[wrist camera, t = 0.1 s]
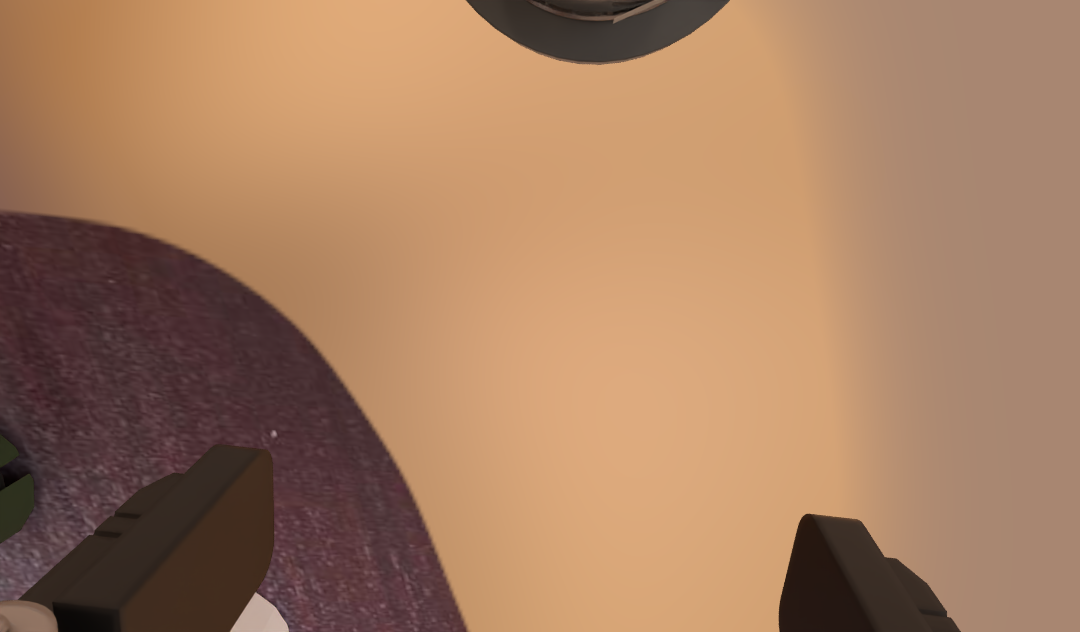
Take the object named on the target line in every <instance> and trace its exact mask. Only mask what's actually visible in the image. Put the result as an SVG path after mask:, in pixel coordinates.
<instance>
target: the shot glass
mask: <svg viewBox="0 0 1080 632" xmlns="http://www.w3.org/2000/svg"><path fill="white" fill-rule="evenodd" d="M230 632H289V629H288V625H287V624H286V622H285V621H284V619H283V618H282V616H281V615H280V613H279V612H278V610H277V609H276V607H275V606H274V605H272V604H271V603H270V602H268V601H267V600H266V599H264V598H263V597H262V596H260V595H259V594H258V593H256V592H255V594H254V595H253V597H252V598H251V600H250V601H249V603H248V604H247V606H246V608H245V609H244V611H243V612H242V614H241V615H240V617H239V618H238V620H237V621H236V623H235V624H234V626H233V628H232V629H231V631H230Z"/></svg>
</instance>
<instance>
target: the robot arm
mask: <svg viewBox="0 0 1080 632" xmlns="http://www.w3.org/2000/svg"><path fill="white" fill-rule="evenodd" d="M524 1H526V2H527V3H529V4H531V5H532V6H534V7H536V8H538V9H540V10H542V11H544V12H547V13H549V14H552V15H555V16H558V17H561V18H565V19H569V20H575V21H581V22H612V21H613V24H614V23H616V22H618V21H620V20H624V19H628V18H631V17H635V16H638V15H641V14H644V13H646V12H649V11H651V10H653V9H655V8H657V7H659V6H661V5H663V4H665V3H666V2H668V1H670V0H524ZM273 546H274V501H273V462H272V457H271V454H270V452H269V451H268V450H264V449H256V448H247V447H239V446H230V445H221V444H217V445H215V446H213V447H212V448H210V449H209V450H208V451H207V452H206V453H205V454H204V455H203V456H202V457H201V458H200V459H199V460H198V461H197V462H196V463H195V464H194V465H193V466H192V467H191V468H190V469H189V470H188V471H187V472H186V473H185V474H180V473H172V474H170V475H168V476H166V477H164V478H162V479H160V480H158V481H156V482H154V483H152V484H150V485H148V486H146V487H144V488H142V489H140V490H139V491H138V492H136V493H135V494H134V495H133V496H132V497H131V498H130V499H129V500H128V501H126V502H125V503H124V504H123V505H122V506H121V507H120V508H119V509H118V510H117V511H115V515H114V517H113V516H110V517H109V518H108V519H107V520H105V521H104V522H103V523H102V524H101V525H100V526H99V527H98V528H97V529H96V530H95V533H94V535H89V536H88V537H87V538H86V539H84V540H83V541H82V542H81V543H80V544H79V545H78V546H77V547H76V548H75V549H73V550H72V551H71V552H70V553H69V554H68V555H67V556H66V557H65V558H63V559H62V560H61V561H60V562H59V563H58V564H57V565H56V566H55V567H54V568H52V569H51V570H50V571H49V572H48V573H47V574H46V575H45V576H44V577H42V578H41V579H40V580H39V581H38V582H37V583H36V584H35V585H34V586H33V587H31V588H30V589H29V590H28V591H27V592H26V593H25V594H24V595H23V596H22V597H20V598H19V599H18V600H9V601H0V632H230V631H231V629H232V628H233V626H234V624H235V623H236V621H237V620H238V618H239V617H240V615H241V614H242V612H243V611H244V609H245V608H246V606H247V604H248V603H249V601H250V600H251V598H252V597H253V595H254V594H255V592H256V591H257V589H258V588H259V586H260V584H261V583H262V581H263V579H264V577H265V575H266V573H267V570H268V568H269V565H270V561H271V557H272V552H273ZM779 630H780V632H961V631H960V630H959V629H958V627H957V626H956V624H955V623H954V621H953V620H952V619H951V618H949V617H947V611H946V610H945V609H944V607H943V606H942V604H941V603H940V601H939V600H938V598H937V597H936V596H935V594H934V593H933V591H932V590H931V588H930V587H929V586H928V584H927V583H926V582H924V581H923V580H922V579H921V578H919V577H918V576H917V575H916V574H915V573H913V572H912V571H911V570H910V569H908V568H907V567H906V566H905V565H904V564H902V563H901V562H900V561H899V560H897V559H895V558H886V557H884V555H883V554H882V552H881V551H880V549H879V548H878V546H877V544H876V543H875V541H874V540H873V538H872V537H871V535H870V534H869V532H868V531H867V529H866V527H865V526H864V525H863V523H862V522H861V521H859V520H857V519H849V518H841V517H832V516H823V515H815V514H806V515H804V516H803V517H802V519H801V520H800V523H799V525H798V529H797V533H796V537H795V541H794V545H793V549H792V553H791V558H790V562H789V566H788V570H787V574H786V579H785V582H784V587H783V591H782V595H781V600H780V606H779Z"/></svg>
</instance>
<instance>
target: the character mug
mask: <svg viewBox="0 0 1080 632" xmlns="http://www.w3.org/2000/svg"><path fill="white" fill-rule="evenodd" d="M17 456H19V453H18V451H17V449H16V447H15V446H14V445H12V444H11V443H10V442H9V441H8V440H6V439H5V438H4V437H3V436H2V435H0V468H1V467H2V466H4V465H5V464H7V463H8V462H10V461H11V460H13V459H14V458H16V457H17ZM33 508H34V480H33V479H32V477H31V475H30V474H28V475H26V476H24V477H23V478H21V479H19V480H18V481H16V482H15V483H13V484H11V485H10V486H8V487H6V488H5V484H4V480H3V476H2V474H1V473H0V543H2V542H3V541H5V540H6V539H8V538H9V537H11V536H12V535H14V534H15V533H17V532H18V531H20V530H21V529H22V527H23V525H24V524H25V522H26V520H27V518H28V517H29V515H30V513H31V512H32V510H33Z"/></svg>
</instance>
